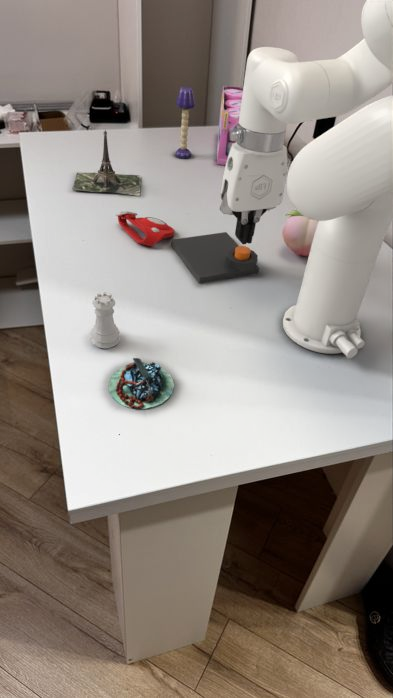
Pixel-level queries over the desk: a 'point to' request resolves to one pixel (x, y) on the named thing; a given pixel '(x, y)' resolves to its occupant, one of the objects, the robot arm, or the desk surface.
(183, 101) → the toy lamp
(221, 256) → the scale
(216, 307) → the desk surface
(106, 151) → the eiffel tower figurine
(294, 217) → the decorative fruit
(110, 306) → the rook chess piece
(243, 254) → the button
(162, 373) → the dish
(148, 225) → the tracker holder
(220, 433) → the desk surface
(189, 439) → the desk surface
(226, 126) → the gum box
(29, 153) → the desk surface
